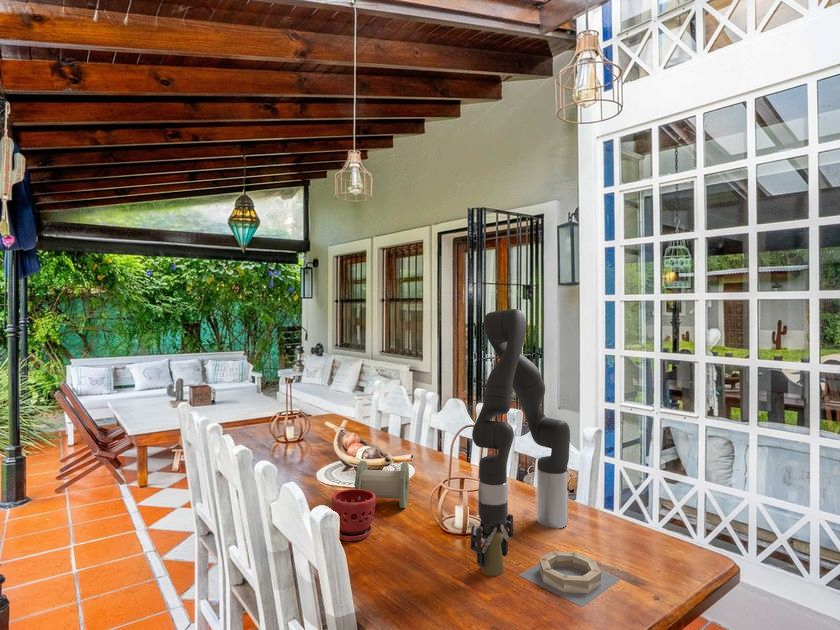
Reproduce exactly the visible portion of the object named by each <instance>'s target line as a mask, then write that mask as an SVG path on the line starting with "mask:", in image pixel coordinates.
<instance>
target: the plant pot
mask: <svg viewBox="0 0 840 630" xmlns="http://www.w3.org/2000/svg"><path fill="white" fill-rule="evenodd" d="M358 497H361V499H358ZM365 499H366V500H365ZM376 499H377V498H376V496H375V494H374V493H372V492H370V491H367V490H362V489H355V488H349V489H343V490H339V491H337V492H335V493H334V494H333V495H332V497H331V511H332V510H333V511H335V512H337V513H338V514H339V516H340V538H339V540H343V541H348V542H350V541H351V542H352V541H361V540H363V539H365V538H367V537H369V535H370V534H371V533H372V531H373V528H372V525H371V524H372V522H373V519H374V518H375V510H376ZM352 500H354V502H352Z"/></svg>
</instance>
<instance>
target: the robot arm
mask: <svg viewBox="0 0 840 630" xmlns="http://www.w3.org/2000/svg"><path fill="white" fill-rule="evenodd" d="M483 329H484V333H485V336H486V339H488V342H489V343H490V345H491V347H492V349H493V350H494V352H495V354H496V356H497V357H498V358H499V360H498V362H496V364H495V365H494V367H493V368H492V370H491V372H490V373H489V375H488V377H487V380H486V383H485V384H486V385H485V389H484V398H483V403H482V406H481V410H480V412H479V415H478V416H477V419H476V421H475V423H474V425H473V428H472V432H471V438H472V442H473V443H474V445H475V446H476V447H478V448H482V449H483V448H484V449H491V450H497V451H498V452H497V454H494V455H487V456H483V457H482V458H480V460H479V465H478V466H479V468H478V470H479V471H478V472H479V473H478V474H479V475H478V477H479V479H478V488H477V489H478V493H477V495H478V496H477V497H478V499H477V500H478V501H477V502H478V503H477V507H478V508H477V509H478V510H477V511H478V513H477V514H478V516H479V519H480V524H479V525H477V526H475V525H472V526H471V528H470V529H471V530H470V531H471V532H470V550H471V551H474V552H475V553H476V564H477V565H478V566H480V567H481V568H482V567H485V566H486V552H485V551H486V549H487V546H488V545H490V543H491V541H492V538H493V536H494V535H495V533H496V532H497V531H501V533H502V535H503V540H502V543H501V550H502V557H506V556H508V552H509V551H508V550H509V548H508V547H509V541H510V538H514V535H515V533H514V516H513V515H512V514H510V513H508V503H509V502H508V501H509V500H508V494H509V493H508V483H507V479H508V478H507V475H508V473H507V470H508V460H509V455H510V451H511V448H512V445H513V443H514V442H513V441H514V439H515V438H514V437H515V433H514V432H515V430H514V428H513V426H512V425H511V424H510V423H509V422H507V421H499V420H497V421H496V420H492V419H493V418H494V417H496V416H500V415H501V416H502V415H506V414H508V413H509V412H510V408H511V401H512V393H513V391H514V393H515V396H516V397H517V399H518V401H519V403H520V407H521V408H522V411H523V413H524V416H525V419H526V422H527V425H528V428H529V431H530V435H531V438H532V440H533V441H534V443H536V444H537V446H540V447H543V448H547V449H548V448H549V449H551V453H550V455H547V456H543V457H539V458H538V459H537V462H536V463H537V464H536V465H537V466H536V467H537V468H536V472H537V473H536V475H537V476H536V478H537V479H536V480H537V481H536V483H537V484H536V486H537V490H536V496H537V497H536V498H537V499H536V504H537V505H536V511H537V512H536V523H537V524H539V525H541V526H543V527H547V528H553V529H555V528H556V529H558V528H561V529H564V528H566V527H567V526H566V525H568V523H569V493H568V464H569V460H570V445H571V430H570V426H569V424H568V423H567V421H565V420H561V419H557V418H556V419H555V418H550V417H547V416H546V415H545V414H544V412H543V409H542V402H543V400H544V396H545V394H546V393H545V392H546V385H545V382H544V380H543V377H542V375H541V372H540V370H539V369H538V367H537V366H536V364H534V363H533V362H532V361H531V360H529V359H528V358H527V357H526V356H525V355H523V354H522V349H523V346H524V342H525V339H526V338H525V337H526V333H527V320H526V317H525V314H524V312H523V311H521V309H519V308H509V309H502V310H496V311H490V312H488V313H486V314H485V315H484V318H483ZM565 526H566V527H565ZM563 527H564V528H563ZM483 536H485V537H487V538H488V539H486V540H485V539H483ZM482 543H483V545H482Z"/></svg>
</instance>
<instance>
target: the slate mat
mask: <svg viewBox="0 0 840 630" xmlns="http://www.w3.org/2000/svg"><path fill="white" fill-rule="evenodd" d="M553 570H555V571H557V572H559V573H561V574H564V575H567V576H584V575H585V574H587V573H585V572H583V571H581V570H579V569H576V568H574V567H555V568H554V569H553ZM600 571H601V585H600V586H598V587H597V588H595V589H594V590H592V591H591V592H590V593H570V592H562V591H560V590H558V589H556V588H554V587H552V586H550V585H548V584H546V583H544V582H543V579H542V576H541V573H540V570H539V563H538V564H536V565H534V566H532V567H531V568H529V569H527V570H525V571H523V572H522V573H520V574H518V576H519V577H520V578H524V579H525V580H527V581H529V582H531V583H533V584H535V585H538V586H539V587H541V588H543V589H545V590H546V591H549V592H551V593H553V594H554V595H557V596H559V597H561V598H563V599H565V600H567V601H568V602H571V603H573V604H575V605H577V606H579V607H581V608H584V607H585V606H587V604H589V603H590V602H591V601H593V600H595V599H596V598H597V597H599V596H600V595H601V594H602V593H605V591H607V590H608V589H609V588H611V587H613V586H614V585H615V584H617V582H619V581H621V578H620V577H617V576H615V575H613V574H611V573H608V572H606V571H604V570H600Z"/></svg>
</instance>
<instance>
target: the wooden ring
mask: <svg viewBox="0 0 840 630" xmlns="http://www.w3.org/2000/svg"><path fill="white" fill-rule="evenodd" d="M538 564H539V570H540V573H541V576H542V579H543V582H544V583H546V584H548V585H550V586H552V587H554V588H556V589H558V590H560V591H562V592H570V593H590V592H591V591H592V590H594V589H595V588H597V587H598V586H600V585H601V571H602V570H601V571H600V568H599V566H598V563H597V562H596V560H595V559H592V558H589V557H587V556H585V555H582V554H580V553H577V552H575V551H550V552H548V553H546V554H545V555H542V557H539V563H538ZM555 567H574V568H576V569H579V570H581V571H583V572H585V573H587V574H585V575H584V576H567V575H564V574H561V573H559V572H557V571H555V570H553V569H554V568H555Z"/></svg>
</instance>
